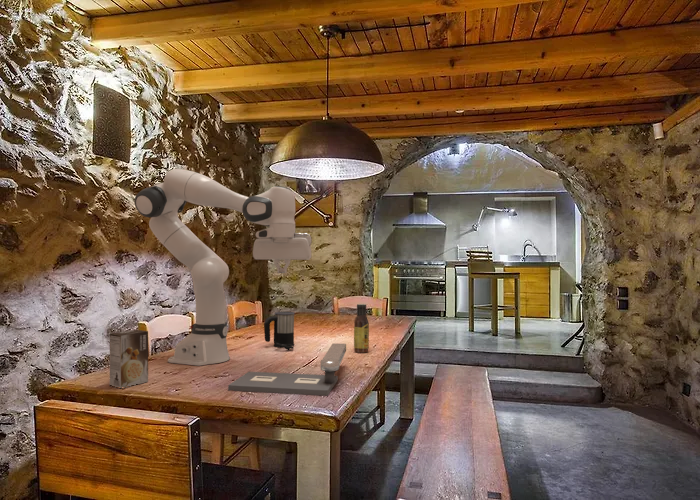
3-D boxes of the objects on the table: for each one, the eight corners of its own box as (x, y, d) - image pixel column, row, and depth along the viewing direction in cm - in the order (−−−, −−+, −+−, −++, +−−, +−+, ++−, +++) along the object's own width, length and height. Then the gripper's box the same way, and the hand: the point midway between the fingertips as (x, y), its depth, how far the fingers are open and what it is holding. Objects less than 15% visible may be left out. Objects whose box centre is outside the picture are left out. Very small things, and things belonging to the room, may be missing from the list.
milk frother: (285, 343, 203) (285, 310, 203) (309, 347, 192) (309, 313, 193) (260, 347, 192) (260, 313, 193) (283, 352, 182) (284, 317, 182)
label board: (228, 390, 130) (228, 373, 130) (248, 376, 146) (248, 360, 146) (329, 395, 126) (329, 378, 126) (339, 380, 141) (339, 364, 141)
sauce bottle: (367, 353, 181) (367, 305, 181) (352, 353, 182) (352, 304, 182) (369, 350, 187) (370, 303, 188) (355, 349, 188) (355, 303, 189)
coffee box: (136, 379, 142) (137, 329, 142) (148, 382, 138) (149, 331, 139) (108, 386, 134) (109, 333, 134) (120, 389, 131) (121, 335, 131)
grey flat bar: (331, 350, 161) (331, 343, 161) (347, 350, 160) (347, 343, 160) (319, 371, 131) (319, 362, 131) (337, 371, 131) (337, 363, 131)
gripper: (313, 233, 154) (313, 273, 154) (257, 233, 157) (257, 272, 157) (309, 232, 148) (309, 273, 147) (251, 232, 151) (250, 273, 151)
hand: (282, 273), depth 152 cm, fingers closed
